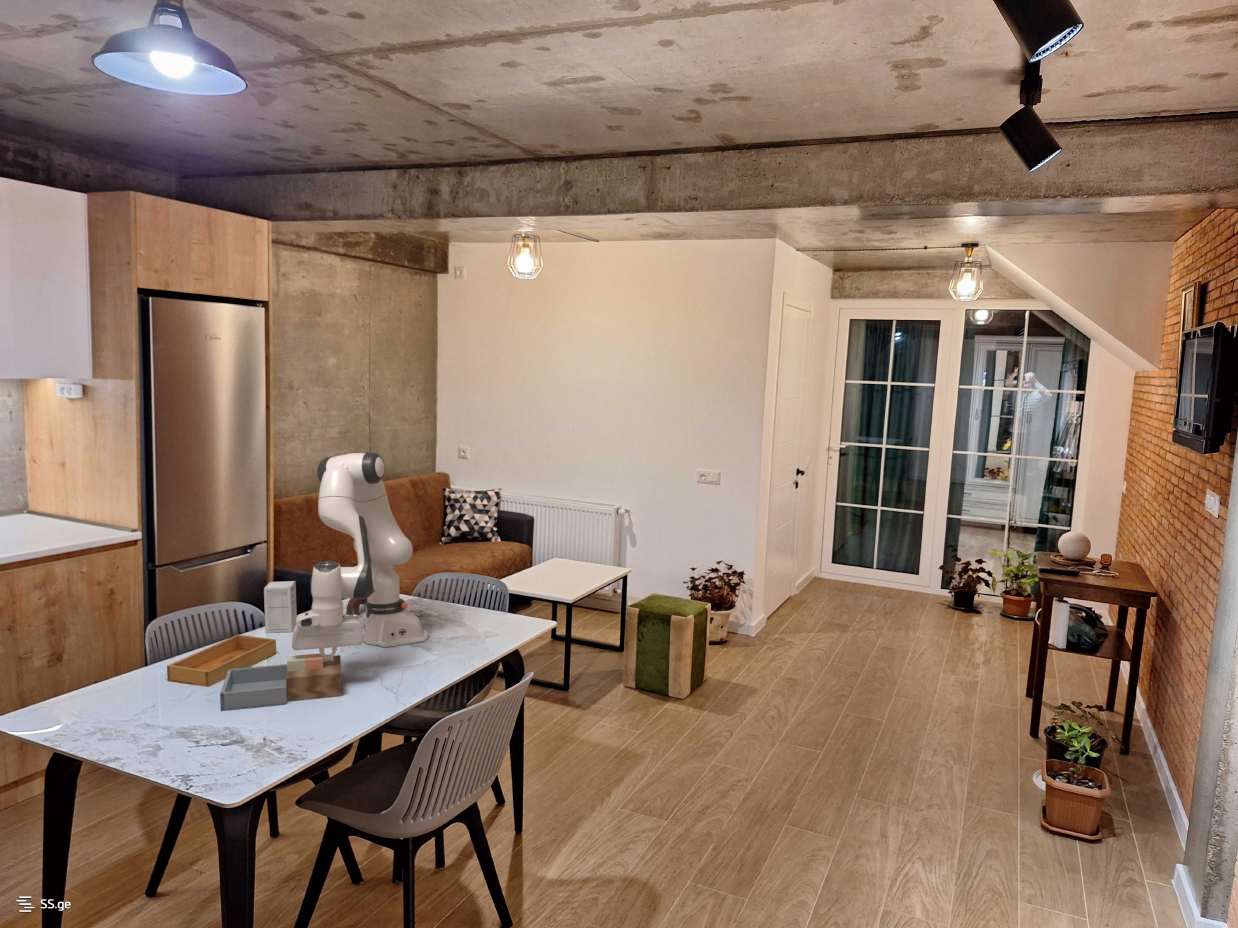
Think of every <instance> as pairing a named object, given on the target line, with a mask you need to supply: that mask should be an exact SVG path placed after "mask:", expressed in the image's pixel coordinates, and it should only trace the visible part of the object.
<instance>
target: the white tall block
mask: <svg viewBox="0 0 1238 928" xmlns="http://www.w3.org/2000/svg"><path fill="white" fill-rule="evenodd" d="M296 586H297V585H296V581H295V580H291V581H290V580H288V581H287V580H285V581H269V582H268V583H267V585H265V587H264V588H263V595H264V596H263V599H264V601H263V602H264V624H265V626H264V628H265V629H264V631H265V634H271V633H275V634H276V633H293V631H294V627H295V625H296V618H297V616H298V614H297V613H298V612H297V611H298V610H297V590H296V589H297V587H296Z"/></svg>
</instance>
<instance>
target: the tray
mask: <svg viewBox="0 0 1238 928" xmlns="http://www.w3.org/2000/svg"><path fill="white" fill-rule="evenodd" d="M276 654H277V640H276V638H275V639H274V638H268V637H260V636H251V635H245V634H236V635H234V636H232V637H230V638H227V639H225V640H223V641H220V642H218V643H215V644H213V645H211V646H209V647H207V648H203V649H202V650H199V651H198V652H195V653H193V654H191V655H188V656H186V657H183V658H182V659H180V660H176V661H174V662H172V663H170V664H167V665H166V675H167V676H166V677H167V682H172V683H177V684H184V685H192V686H198V687H206V688H209V687H212V686H214V685H215V684H218V683H220V682H222V681H225V678H226V675H227V672H228V669H237V668H248V667H253V665H256V664H258V663H261V662H262V661H263V660H265V659H267V658H270V657H272V656H273V655H276Z"/></svg>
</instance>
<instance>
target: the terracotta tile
mask: <svg viewBox="0 0 1238 928" xmlns="http://www.w3.org/2000/svg"><path fill="white" fill-rule="evenodd" d="M304 655H305V670H311V669H322V668H323V656H322V655H321V653H320V652H319V653H309V654H308V653H307V654H304Z"/></svg>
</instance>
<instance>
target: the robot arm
mask: <svg viewBox="0 0 1238 928" xmlns="http://www.w3.org/2000/svg"><path fill="white" fill-rule="evenodd" d="M385 465H386V464H385V461H384V459H383V457H382V456H381V455H380V454H379V453H377V452H373V451H372V452H371V451H366V452H350V453H347V454H345V453H344V454H342V455H335V456H329V457H325V458H322V460H321V461H320V462H319V463H318V465H317V467H316V468H317V469H316V473H317V474H316V475H317V479H318V482H320V486H319V492H318V502H317V503H318V504H317V508H318V509H317V511H318V516H319V518H320V520H321V522H323V524H325V525H326V526H327V527H329V528H330V529H333V530H335V531H338V532H341V533H344V534H346V535H349V536H350V537H352V538H353V539H354V540H353V549H354V551H355V553H356V557H357V564H356V566H341V565H340V563H339V562H337V561H333V560H324V561H319V562H318V563H316V564H314V566H313V569H312V573H311V574H312V576H310V583H309V584H310V594H311V596H312V604H311V609H310V610H307V611H305V612H302V613H300V614H297V618H296V625H295V627H294V630H293V631H292V638H291V639H292V640H291V648H292V649H293V651H305V650H315V649H317V650H318V649H319V650H318V651H319V653H321V655H322V656H323V662H331V661H333V656H335V654H336V653H337V651H338V647H349V646H352V647H353V646H361V645H362V644H363V643H365V644H369V645H371V646H372V645H374V646H379V647H382V648H388V647H389V648H390V647H395V646H402V645H408V644H409V645H410V644H415V643H423V642H426V641H427V640H428V639H429V633H428V631H427V629H425V628H423V627H422V622H421V620H420V619H419V617H418V616H417V615H415V614H414V613H413V612H411V611H410V610H408V603H407V602H406V601H405V600H404V599H403V598H401V597H400V577H399V575H398V573H397V572H396V571H395V569H394V566H398V565H399V566H400V565H404V564H406V563H408V561H410V559H411V558H412V555H413V553H414V550H413V549H414V546H413V542H411V540H410V539H409V538H408V537H407V536H406V535H405V534H404V532H403V530H401V528H400V526H399V524H398V523H397V520H396V519H395V517H394V515H393V512H392V510H391V506H390V502H389V498H388V494H387V490H386V487H385V483H384V481H383V478H384V476H385V472H386V467H385ZM350 598H354V599H366V598H367V601H366V604H365V616H366V622H365V618H364V617H363V616H362V615H360V613H359V614H354V615H346V614H344V604H343V601H342V599H350ZM364 626H365V628H364V629H365V631H364V634H363V627H364ZM328 648H329V649H331V653H330V654H326V652H325V649H328Z"/></svg>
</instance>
